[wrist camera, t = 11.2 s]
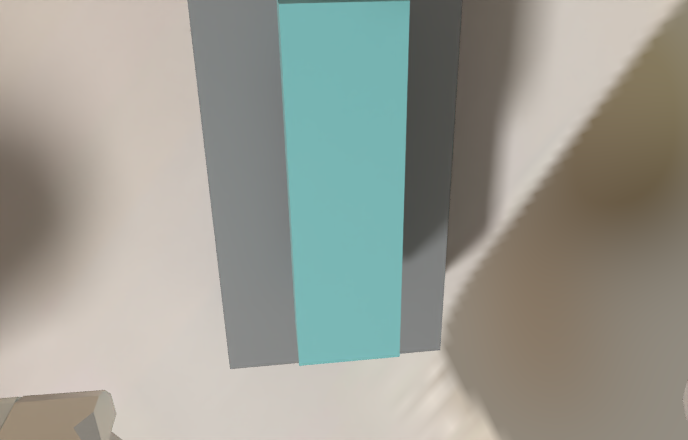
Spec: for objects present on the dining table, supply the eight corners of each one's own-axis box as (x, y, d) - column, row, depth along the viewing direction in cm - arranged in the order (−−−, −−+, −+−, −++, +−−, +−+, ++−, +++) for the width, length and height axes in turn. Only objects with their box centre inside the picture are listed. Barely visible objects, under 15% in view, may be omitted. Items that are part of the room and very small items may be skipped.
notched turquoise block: (273, -12, 20) (278, 4, 13) (362, -14, 20) (409, 0, 14) (289, 256, 24) (299, 365, 17) (363, 250, 24) (399, 356, 18)
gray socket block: (189, -113, 19) (172, -129, 15) (432, -113, 20) (470, -129, 16) (234, 310, 25) (230, 369, 22) (415, 295, 26) (440, 350, 23)
